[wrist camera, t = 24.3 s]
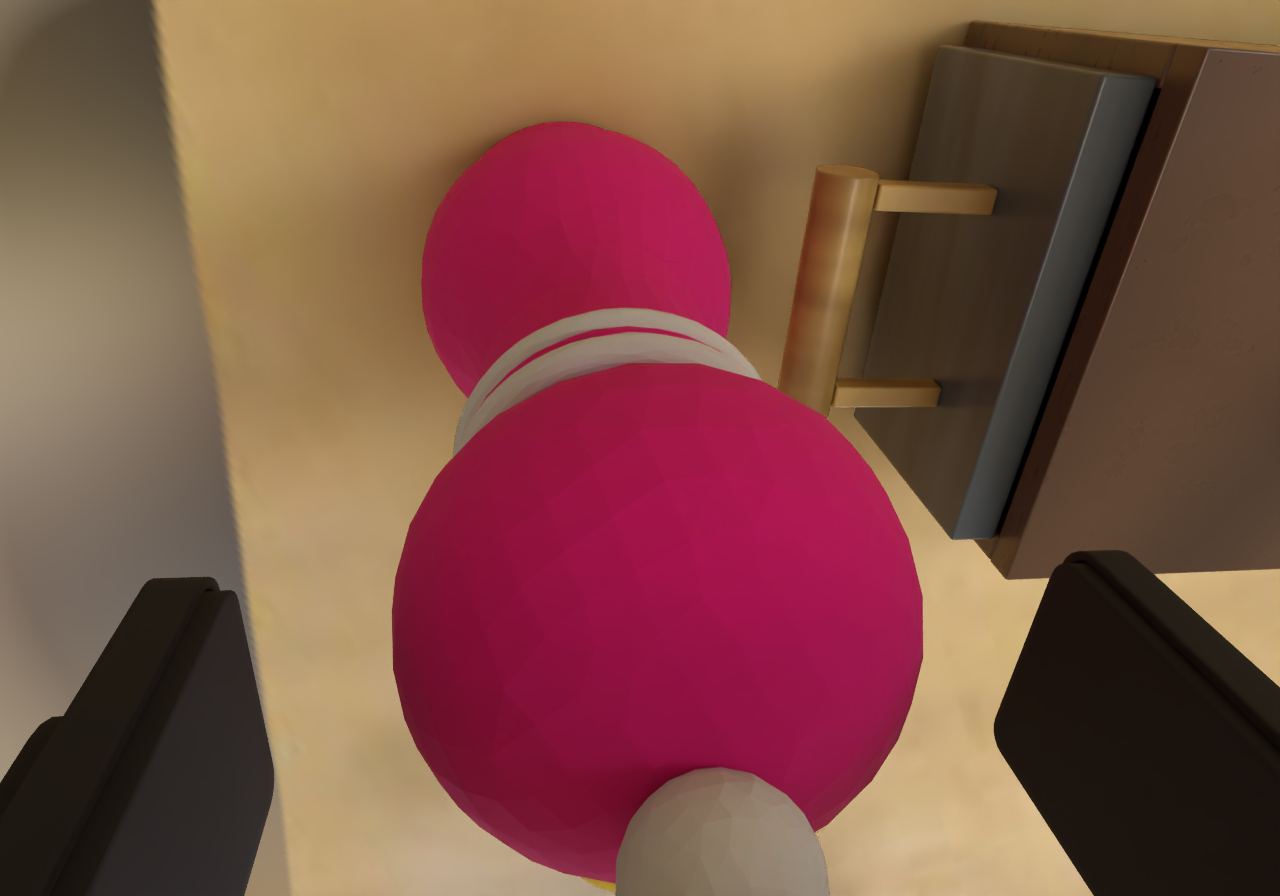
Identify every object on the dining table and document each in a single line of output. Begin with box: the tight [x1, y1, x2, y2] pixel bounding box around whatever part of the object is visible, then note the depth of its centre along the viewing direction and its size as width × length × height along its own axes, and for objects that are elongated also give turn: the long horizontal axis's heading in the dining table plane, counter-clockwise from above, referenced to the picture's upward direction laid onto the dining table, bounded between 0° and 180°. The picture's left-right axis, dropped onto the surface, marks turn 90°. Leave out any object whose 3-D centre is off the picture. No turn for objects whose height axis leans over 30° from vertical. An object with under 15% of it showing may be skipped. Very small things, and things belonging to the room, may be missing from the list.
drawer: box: [777, 45, 1161, 540], centre depth 22 cm, size 17×11×7 cm, turn 86°
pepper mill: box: [392, 122, 923, 896], centre depth 15 cm, size 7×7×20 cm
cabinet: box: [965, 21, 1280, 580], centre depth 22 cm, size 14×12×9 cm
